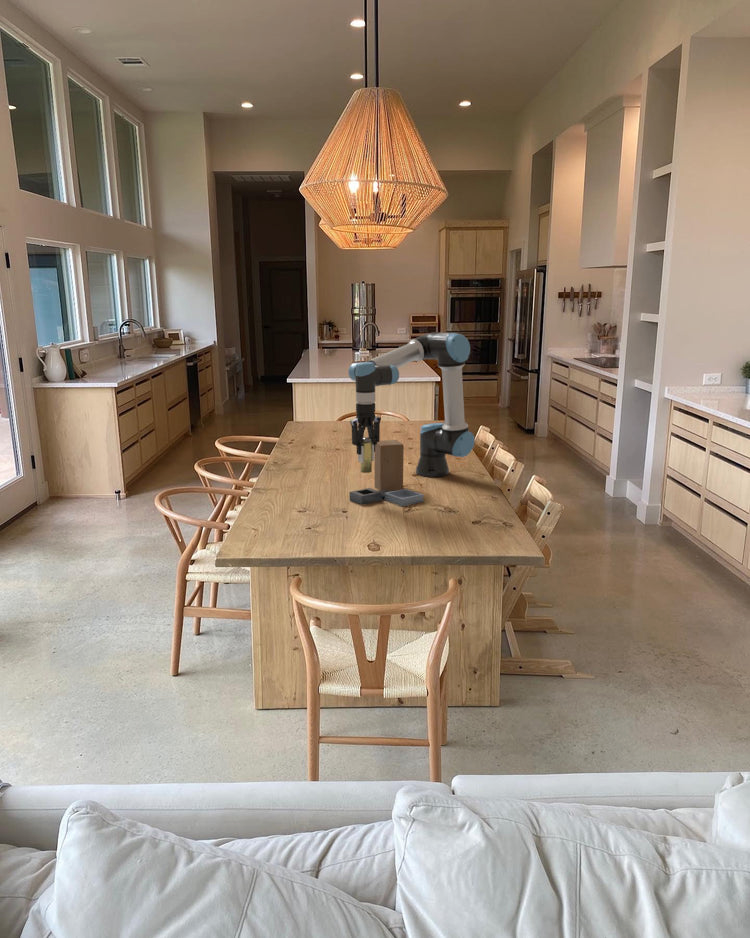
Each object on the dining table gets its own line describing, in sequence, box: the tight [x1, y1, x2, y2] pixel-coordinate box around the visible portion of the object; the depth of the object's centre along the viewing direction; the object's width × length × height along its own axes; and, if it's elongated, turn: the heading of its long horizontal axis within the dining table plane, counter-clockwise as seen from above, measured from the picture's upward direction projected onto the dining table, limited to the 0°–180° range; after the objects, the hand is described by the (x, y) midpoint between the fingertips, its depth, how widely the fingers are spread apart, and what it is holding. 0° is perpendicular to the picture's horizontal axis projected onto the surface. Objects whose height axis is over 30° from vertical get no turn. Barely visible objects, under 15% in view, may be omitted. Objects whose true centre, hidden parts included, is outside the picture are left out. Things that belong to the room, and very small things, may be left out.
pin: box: [360, 436, 373, 474], centre depth 290 cm, size 4×4×14 cm
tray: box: [384, 488, 424, 507], centre depth 293 cm, size 11×11×3 cm
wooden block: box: [373, 439, 405, 491], centre depth 310 cm, size 10×10×20 cm
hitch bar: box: [349, 487, 392, 506], centre depth 296 cm, size 18×8×4 cm, turn 128°
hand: (366, 461), depth 290 cm, fingers closed on pin, 4 cm apart
